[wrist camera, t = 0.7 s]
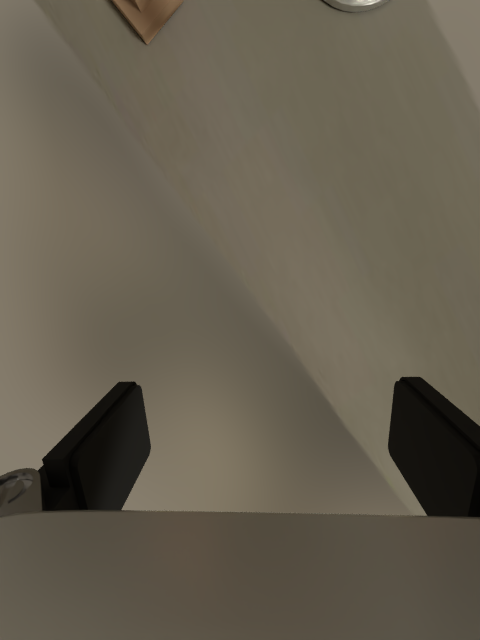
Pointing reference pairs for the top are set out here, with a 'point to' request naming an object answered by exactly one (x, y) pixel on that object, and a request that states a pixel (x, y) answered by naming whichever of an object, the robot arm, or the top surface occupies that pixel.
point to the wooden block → (147, 15)
